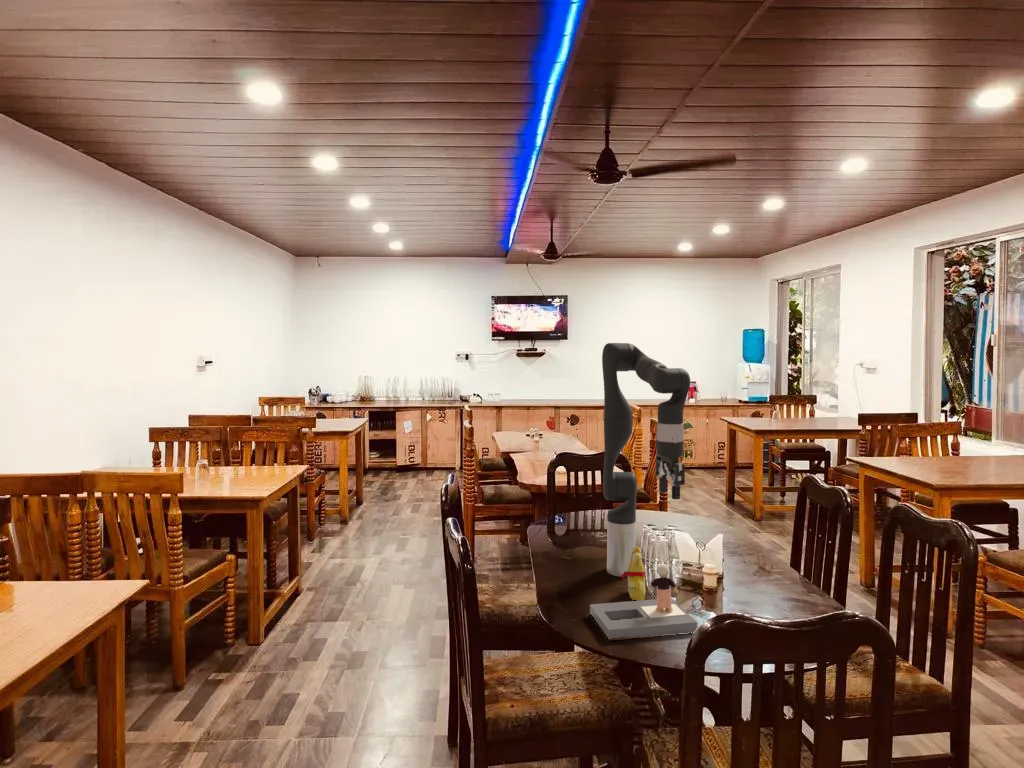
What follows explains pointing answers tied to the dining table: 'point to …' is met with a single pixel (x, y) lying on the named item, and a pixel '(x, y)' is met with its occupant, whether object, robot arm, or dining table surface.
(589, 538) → the dining table surface
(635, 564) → the chocolate bunny
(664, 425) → the robot arm
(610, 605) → the pocket holder
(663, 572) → the grandmother figurine
